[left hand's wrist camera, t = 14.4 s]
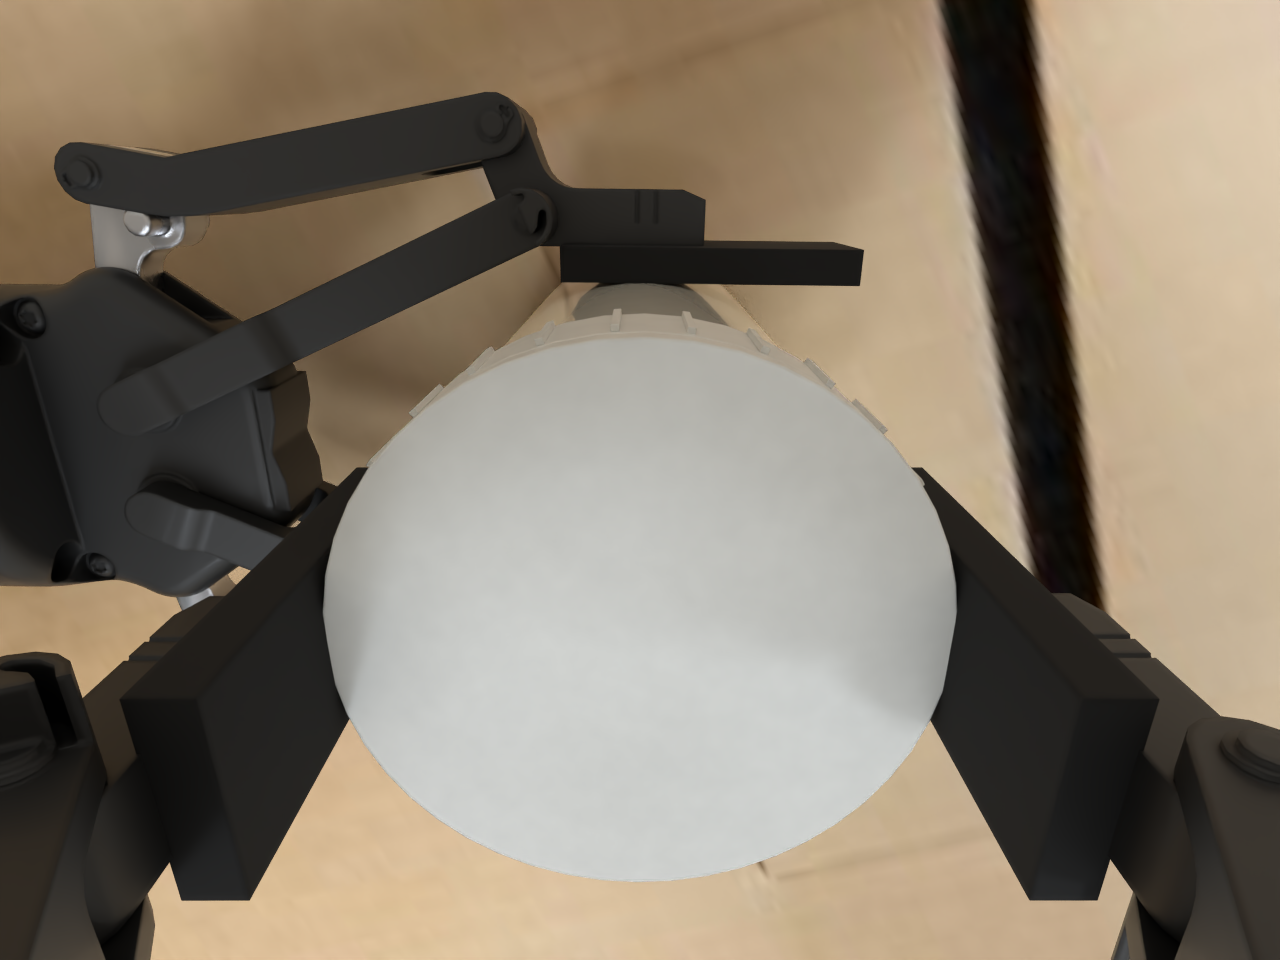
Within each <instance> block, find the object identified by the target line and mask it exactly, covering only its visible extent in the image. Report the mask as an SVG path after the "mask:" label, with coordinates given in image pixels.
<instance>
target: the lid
mask: <svg viewBox="0 0 1280 960" xmlns="http://www.w3.org/2000/svg"><path fill="white" fill-rule="evenodd" d="M834 385H835V382H834V381H833V380H832V379H831V378H830V377H829V376H828V375H827V374H826V373H825V372H824V371H822V370H821V369H820V368H819V367H818V366H817V365H816V364H815V363H814V362H813V361H812V360H810V359H809V358H807V359H806V361H805V362H803V361H801V360H800V359H799V358H797V357H795V356H794V355H792V354H790V353H788V352H786V351H784V350H782V349H780V348H778V347H777V346H775V345H773V344H771V343H769V342H767V341H765V340H763V339H762V338H761V336H760V335H759V334H758V333H757V332H756V331H755V330H754V329H751V328H748V330H747V333H745V332H742V331H739V330H736V329H734V328H731V327H728V326H725V325H721V324H717V323H712V322H707V321H703V320H698V319H694V318H692V316H691V314H690V312H687V311H683V312H682V316H671V315H658V314H646V313H642V314H623V315H622V312H621V309H614V310H613V315H604V316H599V317H593V318H588V319H582V320H577V321H572V322H566V323H562V324H559V325H556V326H555V323H554V321H549V322H547V323H546V324H545V325H544V327H543V328H542V330H541V331H538V332H535V333H532V334H529V335H526V336H524V337H522V338H520V339H518V340H516V341H514V342H512V343H510V344H508V345H506V346H504V347H502V348H500V349H498V350H494V349H493V347H492V346H491V347H489V348H487V349H486V350H485V351H484V352H483V353H482V354H481V355H480V356H479V357H478V358H477V359H476V360H475V361H474V362H473V363H472V364H471V365H470V366H469V367H468V368H467V369H466V370H465V371H463V372H462V373H460V374H459V375H458V376H457V377H456V378H455V379H453V380H452V381H451V382H450V383H449V384H448V385H447V386H446V387H445V388H443V387H442V386H441V385H440V384H438V385H437V386H436V387H435V388H434V389H433V390H432V391H431V392H430V393H429V394H428V395H427V396H426V397H425V398H424V399H423V400H422V401H421V402H420V403H418V404H417V405H416V406H415V407H414V408H413V409H412V410H411V411H410V412H409V414H410V415H411V416H412V417H413V418H412V419H411V420H410V421H409V422H408V423H407V424H406V425H405V426H404V427H403V428H402V429H401V430H399V431H398V432H397V433H396V434H395V435H394V436H393V437H392V438H391V439H390V440H389V441H388V442H387V443H386V444H385V445H384V446H383V447H382V448H381V449H380V450H379V451H378V452H377V453H376V454H375V455H374V456H373V457H372V458H371V459H370V460H369V462H368V463H367V465H366V466H368V467H369V468H368V469H367V471H366V473H365V474H364V476H363V478H362V479H361V481H360V483H359V485H358V486H357V488H356V490H355V491H354V493H353V495H352V496H351V498H350V500H349V501H348V503H347V506H346V508H345V511H344V513H343V516H342V518H341V521H340V523H339V526H338V528H337V531H336V533H335V536H334V538H333V543H332V547H331V552H330V556H329V560H328V565H327V569H326V574H325V586H324V601H323V618H324V624H325V631H326V637H327V643H328V648H329V654H330V659H331V665H332V670H333V675H334V680H335V685H336V688H337V690H338V693H339V695H340V698H341V700H342V703H343V705H344V708H345V710H346V713H347V715H348V717H349V718H350V720H351V722H352V724H353V725H354V727H355V729H356V731H357V732H358V734H359V736H360V738H361V739H362V741H363V743H364V745H365V746H366V747H367V749H368V750H369V751H370V753H371V754H372V755H373V756H374V758H375V759H376V760H377V762H378V763H379V764H380V766H381V767H382V768H383V770H384V771H385V772H386V773H387V774H388V775H389V776H390V777H391V778H392V779H393V780H394V781H395V782H396V783H397V784H398V785H399V787H400V788H401V789H402V790H403V791H404V792H405V793H406V794H407V795H408V796H409V797H410V798H412V799H413V800H414V801H415V802H417V803H418V804H419V805H420V806H422V807H423V808H424V809H425V810H427V811H428V812H429V813H430V814H432V815H433V816H434V817H435V818H436V819H438V820H439V821H441V822H443V823H444V824H446V825H447V826H449V827H451V828H452V829H454V830H455V831H457V832H458V833H460V834H462V835H463V836H465V837H466V838H468V839H470V840H472V841H474V842H476V843H478V844H480V845H482V846H484V847H486V848H489V849H491V850H493V851H495V852H497V853H499V854H502V855H504V856H507V857H510V858H512V859H515V860H518V861H520V862H523V863H526V864H529V865H531V866H535V867H539V868H543V869H547V870H551V871H554V872H558V873H562V874H566V875H573V876H579V877H585V878H592V879H598V880H611V881H628V882H649V881H673V880H680V879H688V878H695V877H703V876H709V875H713V874H717V873H721V872H726V871H730V870H734V869H738V868H742V867H745V866H748V865H751V864H754V863H757V862H760V861H763V860H765V859H768V858H771V857H774V856H776V855H779V854H781V853H783V852H785V851H787V850H789V849H792V848H794V847H796V846H798V845H800V844H802V843H805V842H807V841H808V840H810V839H812V838H813V837H815V836H817V835H818V834H820V833H822V832H823V831H825V830H827V829H828V828H830V827H832V826H833V825H835V824H837V823H838V822H839V821H841V820H842V819H843V818H845V817H846V816H847V815H849V814H850V813H851V812H852V811H854V810H855V809H856V808H858V807H859V806H860V805H862V804H863V803H864V802H865V801H866V800H867V799H868V798H869V797H871V796H872V795H873V794H874V793H875V792H876V791H877V790H878V789H879V788H880V787H881V786H882V785H883V784H884V783H885V782H886V781H887V780H888V779H889V778H890V777H891V776H892V774H893V773H894V772H895V771H896V769H897V768H898V767H899V766H900V765H901V763H902V762H903V761H904V760H905V758H906V757H907V756H908V755H909V753H910V752H911V751H912V749H913V748H914V746H915V744H916V743H917V741H918V739H919V738H920V736H921V735H922V733H923V731H924V730H925V728H926V726H927V725H928V723H929V721H930V719H931V717H932V715H933V712H934V710H935V708H936V706H937V703H938V701H939V699H940V696H941V694H942V691H943V687H944V682H945V677H946V671H947V666H948V660H949V655H950V649H951V643H952V638H953V632H954V627H955V621H956V614H957V596H956V580H955V575H954V569H953V564H952V559H951V554H950V548H949V545H948V542H947V539H946V536H945V534H944V531H943V528H942V525H941V522H940V520H939V517H938V514H937V511H936V509H935V507H934V505H933V504H932V502H931V500H930V498H929V496H928V495H927V493H926V491H925V489H924V487H923V486H924V485H925V484H924V482H923V480H922V479H921V478H920V476H919V475H918V474H917V473H916V472H915V471H914V470H913V469H912V468H911V467H910V466H909V464H908V463H907V462H906V460H905V459H904V458H903V456H902V455H901V454H900V453H899V451H898V450H897V449H896V447H895V446H894V445H893V443H892V442H891V441H890V440H889V439H888V438H887V437H886V436H885V435H884V433H885V432H886V431H887V428H886V427H885V426H884V425H883V424H882V423H881V422H880V421H879V420H878V419H877V418H876V417H875V416H874V415H872V414H871V413H870V412H869V411H868V410H867V409H866V408H865V407H864V406H863V405H862V404H861V403H860V402H859V401H858V400H857V399H855V400H854V401H852V402H850V401H849V400H848V399H847V398H846V397H845V396H844V395H843V394H842V393H841V392H840V391H839V390H838V389H837V388H836V387H835V386H834Z"/></svg>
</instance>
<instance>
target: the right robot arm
mask: <svg viewBox="0 0 1280 960" xmlns="http://www.w3.org/2000/svg"><path fill="white" fill-rule="evenodd" d="M479 168H483V169H484V171H485V174H486V176H487V179H488V181H489V184H490V187H491V189H492V192H493V194H494V197H495V199H496V200H494V201H492V202H490V203H488V204H486V205H484V206H482V207H480V208H478V209H476V210H474V211H472V212H470V213H468V214H466V215H464V216H462V217H460V218H458V219H456V220H454V221H451V222H449V223H447V224H445V225H443V226H441V227H439V228H437V229H435V230H433V231H431V232H429V233H427V234H425V235H423V236H421V237H419V238H417V239H415V240H413V241H411V242H409V243H406V244H404V245H402V246H400V247H398V248H396V249H394V250H392V251H390V252H388V253H386V254H384V255H382V256H380V257H378V258H376V259H374V260H372V261H370V262H368V263H366V264H364V265H361V266H359V267H357V268H355V269H353V270H351V271H349V272H347V273H345V274H343V275H341V276H339V277H337V278H335V279H333V280H331V281H329V282H327V283H325V284H323V285H321V286H319V287H316V288H314V289H312V290H310V291H308V292H306V293H304V294H302V295H300V296H298V297H296V298H294V299H292V300H290V301H288V302H286V303H284V304H282V305H280V306H278V307H276V308H273V309H271V310H269V311H267V312H265V313H262V314H260V315H257V316H255V317H252V318H250V319H248V320H246V321H243V322H242V321H241V320H239V319H238V318H236V317H235V316H233V315H232V314H230V313H229V312H227V311H226V310H224V309H222V308H221V307H219V306H218V305H216V304H215V303H213V302H212V301H210V300H209V299H207V298H206V297H204V296H203V295H201V294H200V293H198V292H196V291H195V290H193V289H192V288H190V287H189V286H187V285H186V284H184V283H183V282H181V281H180V280H178V279H177V278H175V277H174V276H172V275H171V274H169V273H167V272H166V271H164V270H163V264H164V260H165V258H166V255H167V254H168V253H169V252H170V251H171V250H173V249H175V248H177V247H184V246H193V245H195V244H197V243H199V242H200V241H201V240H202V239H203V237H204V235H205V233H206V229H207V228H208V227H209V224H210V218H209V215H224V214H244V213H252V212H259V211H266V210H271V209H276V208H281V207H286V206H291V205H296V204H301V203H306V202H311V201H316V200H322V199H327V198H332V197H337V196H342V195H347V194H352V193H357V192H362V191H367V190H372V189H377V188H383V187H388V186H393V185H398V184H403V183H408V182H413V181H418V180H423V179H428V178H433V177H438V176H444V175H449V174H454V173H459V172H464V171H469V170H474V169H479ZM54 169H55V173H56V176H57V180H58V181H59V183H60V184H61V186H62V187H63V189H64V190H65V192H67V193H68V194H69V195H70V196H72V197H73V198H74V199H76V200H78V201H81V202H84V203H86V204H90V212H91V223H92V234H93V245H94V256H95V267H96V268H94V269H90V270H87V271H85V272H83V273H81V274H79V275H78V276H77V277H75V278H74V279H73V280H71V281H69V282H68V283H66V284H63V285H41V284H0V586H63V585H72V584H80V583H88V582H95V581H104V580H122V581H127V582H131V583H134V584H137V585H140V586H142V587H145V588H147V589H149V590H151V591H154V592H156V593H158V594H161V595H165V596H170V597H176V598H177V600H178V602H179V605H180V607H181V609H182V611H183V610H185V609H186V608H188V607H190V606H192V605H194V604H196V603H197V602H199V601H201V600H203V599H205V598H207V597H209V596H226V595H227V594H228V593H229V592H230V591H231V590H232V589H233V588H234V587H235V586H236V584H235V583H234V582H233V581H232V580H231V579H230V578H229V576H228V574H229V573H230V572H231V571H233V570H234V569H235V568H237V567H238V566H240V567H243V568H246V569H248V570H252V569H253V568H254V567H255V566H256V565H257V564H258V563H259V562H261V561H262V560H263V559H264V558H265V557H266V556H267V555H268V554H269V553H270V552H271V551H272V550H273V549H274V548H275V547H276V546H277V545H278V544H279V543H280V542H281V541H282V540H283V539H284V538H285V537H286V536H287V535H288V534H289V533H290V532H291V531H292V530H293V529H294V528H295V527H291V526H292V525H293V524H294V523H295V522H296V521H297V520H299V521H301V522H302V521H303V520H304V519H305V518H306V517H307V516H308V515H309V514H310V513H311V512H312V511H313V510H314V509H315V508H316V507H317V506H318V505H319V504H320V503H321V502H322V501H323V500H324V499H325V498H326V497H327V496H328V495H329V494H330V493H331V492H332V491H333V490H334V489H335V488H336V487H337V486H335V485H332V484H330V483H328V482H325V481H323V479H322V472H321V466H320V459H319V455H318V453H317V450H316V448H315V446H314V443H313V441H312V439H311V437H310V434H309V432H308V429H307V423H308V414H309V406H310V394H309V388H308V381H307V375H306V371H297V370H296V368H295V366H294V364H293V362H295V361H297V360H299V359H302V358H304V357H306V356H308V355H310V354H312V353H314V352H316V351H318V350H320V349H323V348H325V347H327V346H329V345H331V344H333V343H335V342H337V341H339V340H342V339H344V338H346V337H348V336H350V335H352V334H354V333H356V332H358V331H361V330H363V329H365V328H367V327H369V326H371V325H373V324H375V323H377V322H380V321H382V320H384V319H386V318H388V317H390V316H392V315H394V314H396V313H399V312H401V311H403V310H405V309H407V308H409V307H411V306H413V305H415V304H418V303H420V302H422V301H424V300H426V299H428V298H430V297H432V296H434V295H437V294H439V293H441V292H443V291H445V290H447V289H449V288H451V287H453V286H456V285H458V284H460V283H462V282H464V281H466V280H468V279H470V278H472V277H474V276H477V275H479V274H481V273H483V272H485V271H487V270H489V269H491V268H493V267H496V266H498V265H500V264H502V263H504V262H506V261H508V260H510V259H512V258H515V257H517V256H519V255H521V254H523V253H525V252H527V251H529V250H531V249H534V248H536V247H538V246H560V268H561V282H569V283H652V284H735V285H818V286H860V280H861V271H862V262H863V254H864V250H862V249H858V248H854V247H850V246H846V245H842V244H838V243H834V242H777V241H704V228H705V203H706V200H705V199H702V198H700V197H698V196H696V195H694V194H691V193H689V192H687V191H685V190H663V189H583V188H572V187H570V186H567V185H565V184H563V183H562V182H561V181H560V180H558V179H557V178H556V177H555V175H554V174H553V173H552V171H551V169H550V167H549V165H548V163H547V160H546V158H545V155H544V152H543V149H542V147H541V144H540V141H539V138H538V136H537V128H536V125H535V123H534V120H533V118H532V117H531V116H530V115H529V114H528V113H527V111H526V110H524V109H523V108H522V107H520V106H519V105H517V104H516V103H515V102H513V101H512V100H511V99H509V98H508V97H506V96H504V95H501V94H499V93H497V92H483V93H478V94H474V95H469V96H464V97H459V98H454V99H449V100H444V101H439V102H434V103H429V104H424V105H419V106H415V107H410V108H405V109H400V110H395V111H390V112H385V113H380V114H375V115H370V116H365V117H361V118H356V119H351V120H346V121H341V122H336V123H331V124H326V125H321V126H316V127H311V128H307V129H302V130H297V131H292V132H287V133H282V134H277V135H272V136H267V137H262V138H257V139H252V140H248V141H243V142H238V143H233V144H228V145H223V146H218V147H213V148H208V149H203V150H198V151H194V152H189V153H184V154H178V153H173V152H167V151H162V150H156V149H149V148H138V147H127V146H116V145H104V144H94V143H83V142H75V143H68V144H66V145H65V146H63V147H61V148H60V150H59V151H58V153H57V155H56V156H55V165H54Z"/></svg>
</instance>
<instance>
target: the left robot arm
mask: <svg viewBox="0 0 1280 960" xmlns="http://www.w3.org/2000/svg"><path fill="white" fill-rule="evenodd" d="M367 469H368V468H356V469H355V470H354V471H353V472H352V473H351V474H350V475H349V476H348V477H347V478H346V479H345V480H344V481H343V482H342V483H341V484H340V485H339V486H338V487H336V488H335V489H334V490H333V491H332V492H331V493H330V494H329V495H328V496H327V497H326V498H325V499H324V500H323V501H322V502H321V503H320V504H319V505H318V506H317V507H316V508H315V509H314V510H313V511H312V512H311V513H310V514H309V515H308V516H307V517H306V518H305V519H304V520H303V521H302V522H301V523H300V524H299V525H297V526H296V527H295V528H294V529H293V530H292V531H291V532H290V533H289V534H288V535H287V536H286V537H285V538H284V539H283V540H282V541H281V542H280V543H279V544H278V545H277V546H276V547H275V548H274V549H273V550H272V551H271V552H270V553H269V554H268V555H267V556H266V557H265V558H264V559H263V560H262V561H261V562H259V563H258V564H257V565H256V566H255V567H254V568H253V569H252V570H251V571H250V572H249V573H248V574H247V575H246V576H245V577H244V578H243V579H242V580H241V581H240V582H239V583H238V584H237V585H236V586H235V587H234V588H233V589H232V590H231V591H230V592H229V593H228V594H227V595H226V596H209V597H207V598H205V599H203V600H201V601H199V602H197V603H196V604H194V605H192V606H190V607H188V608H186V609H185V610H183V611H181V612H179V613H177V614H175V615H174V616H173V617H172V618H170V619H169V620H168V621H167V622H166V623H165V624H164V625H163V626H162V627H161V628H159V629H158V630H157V631H156V632H155V633H154V634H153V635H152V636H151V637H150V640H149V642H144V643H143V644H142V645H141V646H140V647H139V648H137V649H136V650H135V651H134V652H133V653H132V654H131V655H130V656H129V660H128V661H123V662H122V663H121V664H120V665H119V666H118V667H116V668H115V669H114V670H113V671H112V672H111V673H110V674H109V675H108V676H107V677H105V678H104V679H103V680H102V681H101V682H100V683H99V684H98V685H97V686H96V687H94V688H93V689H92V690H91V691H90V692H89V693H88V694H87V695H86V696H85V697H83V698H82V695H81V692H80V689H79V686H78V683H77V680H76V677H75V674H74V671H73V668H72V665H71V662H70V661H69V660H67V659H66V658H64V657H62V656H61V655H59V654H55V653H44V652H29V653H21V654H13V655H6V656H2V657H0V960H150V958H151V951H152V944H153V937H154V930H155V922H154V916H153V909H152V906H151V903H150V900H149V897H148V892H149V891H150V889H151V888H152V886H153V885H154V884H155V882H156V881H157V879H158V878H159V876H160V875H161V874H162V872H163V871H164V869H165V868H166V866H167V865H168V864H169V862H170V865H171V868H172V871H173V874H174V878H175V881H176V884H177V887H178V890H179V894H180V897H181V900H182V901H210V900H250V899H251V897H252V895H253V893H254V891H255V890H256V888H257V886H258V884H259V882H260V880H261V879H262V877H263V875H264V873H265V871H266V870H267V868H268V866H269V864H270V862H271V860H272V859H273V857H274V855H275V853H276V851H277V850H278V848H279V846H280V844H281V842H282V841H283V839H284V837H285V835H286V833H287V831H288V830H289V828H290V826H291V824H292V822H293V821H294V819H295V817H296V815H297V813H298V811H299V810H300V808H301V806H302V804H303V802H304V801H305V799H306V797H307V795H308V793H309V791H310V790H311V788H312V786H313V784H314V782H315V781H316V779H317V777H318V775H319V773H320V771H321V770H322V768H323V766H324V764H325V762H326V761H327V759H328V757H329V755H330V753H331V751H332V750H333V748H334V746H335V744H336V742H337V741H338V739H339V737H340V735H341V733H342V731H343V730H344V728H345V726H346V724H347V722H348V721H349V719H350V718H349V717H348V715H347V713H346V710H345V708H344V705H343V703H342V700H341V698H340V695H339V693H338V690H337V688H336V685H335V680H334V675H333V670H332V665H331V659H330V654H329V648H328V643H327V637H326V631H325V624H324V618H323V601H324V586H325V574H326V569H327V565H328V560H329V556H330V552H331V547H332V543H333V538H334V536H335V533H336V531H337V528H338V526H339V523H340V521H341V518H342V516H343V513H344V511H345V508H346V506H347V503H348V501H349V500H350V498H351V496H352V495H353V493H354V491H355V490H356V488H357V486H358V485H359V483H360V481H361V479H362V478H363V476H364V474H365V473H366V471H367ZM912 469H913V470H914V471H915V472H916V473H917V474H918V475H919V476H920V478H921V479H922V480H923V482H924V484H925V485H924V486H923V487H924V489H925V491H926V493H927V495H928V496H929V498H930V500H931V502H932V504H933V505H934V507H935V509H936V511H937V514H938V517H939V520H940V522H941V525H942V528H943V531H944V534H945V536H946V539H947V542H948V545H949V548H950V554H951V559H952V564H953V569H954V575H955V580H956V596H957V614H956V621H955V627H954V632H953V638H952V643H951V649H950V655H949V660H948V666H947V671H946V677H945V682H944V687H943V691H942V694H941V696H940V699H939V701H938V703H937V706H936V708H935V710H934V712H933V715H932V717H931V719H930V720H931V722H932V724H933V726H934V728H935V729H936V731H937V733H938V735H939V737H940V738H941V740H942V742H943V744H944V746H945V748H946V749H947V751H948V753H949V755H950V757H951V758H952V760H953V762H954V764H955V766H956V768H957V769H958V771H959V773H960V775H961V777H962V778H963V780H964V782H965V784H966V786H967V788H968V789H969V791H970V793H971V795H972V797H973V798H974V800H975V802H976V804H977V806H978V808H979V809H980V811H981V813H982V815H983V817H984V818H985V820H986V822H987V824H988V826H989V827H990V829H991V831H992V833H993V835H994V837H995V838H996V840H997V842H998V844H999V846H1000V847H1001V849H1002V851H1003V853H1004V855H1005V857H1006V858H1007V860H1008V862H1009V864H1010V866H1011V867H1012V869H1013V871H1014V873H1015V875H1016V877H1017V878H1018V880H1019V882H1020V884H1021V886H1022V887H1023V889H1024V891H1025V893H1026V895H1027V897H1028V898H1029V900H1098V897H1099V894H1100V891H1101V887H1102V884H1103V881H1104V878H1105V874H1106V871H1107V868H1108V865H1109V862H1110V859H1111V861H1112V862H1113V864H1114V865H1115V866H1116V868H1117V869H1118V871H1119V872H1120V874H1121V875H1122V876H1123V878H1124V879H1125V881H1126V882H1127V883H1128V885H1129V886H1130V888H1131V889H1132V891H1133V894H1132V897H1131V900H1130V903H1129V906H1128V909H1127V912H1126V915H1125V918H1124V921H1123V924H1122V927H1121V930H1120V933H1119V936H1118V939H1117V943H1116V946H1115V949H1114V952H1113V955H1112V958H1111V960H1280V730H1279V729H1275V728H1272V727H1269V726H1266V725H1263V724H1260V723H1257V722H1253V721H1250V720H1244V719H1237V718H1230V717H1223V716H1220V715H1219V714H1218V713H1217V712H1215V711H1214V710H1213V709H1212V708H1211V707H1210V706H1209V705H1208V704H1207V703H1205V702H1204V701H1203V700H1202V699H1201V698H1200V697H1199V696H1198V695H1197V694H1195V693H1194V692H1193V691H1192V690H1191V689H1190V688H1189V687H1188V686H1187V685H1185V684H1184V683H1183V682H1182V681H1181V680H1180V679H1179V678H1178V677H1177V676H1175V675H1174V674H1173V673H1172V672H1171V671H1170V670H1169V669H1168V668H1167V667H1165V666H1164V665H1163V664H1162V663H1161V662H1160V661H1159V660H1158V659H1157V658H1151V653H1150V652H1149V651H1148V650H1147V649H1146V648H1144V647H1143V646H1142V645H1141V644H1140V643H1139V642H1138V641H1137V640H1136V639H1130V634H1129V633H1128V632H1127V631H1126V630H1124V629H1123V628H1122V627H1121V626H1120V625H1119V624H1118V623H1117V622H1116V621H1114V620H1113V619H1112V618H1111V617H1110V616H1109V615H1108V614H1107V613H1106V612H1104V611H1102V610H1100V609H1098V608H1096V607H1095V606H1093V605H1091V604H1089V603H1087V602H1085V601H1083V600H1081V599H1080V598H1078V597H1076V596H1074V595H1072V594H1070V593H1050V592H1049V591H1048V590H1047V589H1046V588H1045V587H1044V586H1043V585H1042V584H1041V583H1040V582H1039V581H1038V580H1037V579H1036V578H1035V577H1034V576H1033V575H1032V574H1031V573H1030V572H1029V571H1028V570H1027V569H1026V568H1025V567H1024V566H1023V565H1022V564H1021V563H1020V562H1019V561H1018V560H1017V559H1015V558H1014V557H1013V556H1012V555H1011V554H1010V553H1009V552H1008V551H1007V550H1006V549H1005V548H1004V547H1003V546H1002V545H1001V544H1000V543H999V542H998V541H997V540H996V539H995V538H994V537H993V536H992V535H991V534H990V533H989V532H988V531H987V530H986V529H985V528H984V527H983V526H982V525H981V524H980V523H979V522H978V521H976V520H975V519H974V518H973V517H972V516H971V515H970V514H969V513H968V512H967V511H966V510H965V509H964V508H963V507H962V506H961V505H960V504H959V503H958V502H957V501H956V500H955V499H954V498H953V497H952V496H951V495H950V494H949V493H948V492H947V491H946V490H945V489H944V488H943V487H942V486H941V485H940V484H939V483H937V482H936V481H935V480H934V479H933V478H932V477H931V476H930V475H929V474H928V473H927V472H926V471H925V470H924V469H923V468H912Z"/></svg>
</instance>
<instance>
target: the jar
mask: <svg viewBox="0 0 1280 960" xmlns="http://www.w3.org/2000/svg"><path fill="white" fill-rule="evenodd" d="M614 309H621V312H622V315H623V314H642V313H646V314H658V315H671V316H682V312H683V311H687V312H690V314H691V316H692V318H694V319H698V320H703V321H707V322H712V323H717V324H721V325H725V326H728V327H731V328H734V329H736V330H739V331H742V332H745V333H747V330H748V328H751V329H754V330H755V331H756V332H757V333H758V334H759V335H760V336H761V338H762V339H763V340H765V341H767V342H769V343H771V344H773V345H775V346H777V345H776V344H775V343H774V342H773V340H772V339H771V338H770V337H769V336H768V335H767V334H766V333H765V332H764V330H763V329H762V328H761V327H760V326H759V325H758V324H757V323H756V322H755V320H754V319H753V318H752V317H751V316H750V315H749V314H748V313H747V311H746V310H745V309H744V308H743V307H742V306H741V305H740V304H739V303H738V301H737V300H736V299H735V298H734V297H733V296H732V295H731V294H730V293H729V292H728V291H727V290H726V289H725V288H724V287H723V286H722V285H721V284H652V283H569V282H563V283H562V284H560V285H559V286H558V287H557V288H556V289H554V290H553V292H552V293H551V294H550V295H549V296H548V297H547V298H546V299H545V300H544V301H543V303H542V304H541V305H540V306H539V307H538V308H537V309H536V310H535V311H534V313H533V314H532V315H531V316H530V317H529V318H528V319H527V320H526V321H525V323H524V324H523V325H522V326H521V327H520V328H519V329H518V330H517V331H516V333H515V334H514V335H513V336H512V337H511V338H510V339H509V340H508V342H507V343H506V344H505V345H504V346H506V345H508V344H510V343H512V342H514V341H516V340H518V339H520V338H522V337H524V336H526V335H529V334H532V333H535V332H538V331H541V330H542V328H543V327H544V325H545V324H546V323H547V322H549V321H554V323H555V326H556V325H559V324H562V323H566V322H572V321H577V320H582V319H588V318H593V317H599V316H604V315H613V310H614ZM504 346H503V347H504ZM777 347H778V346H777ZM778 348H779V347H778Z"/></svg>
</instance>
